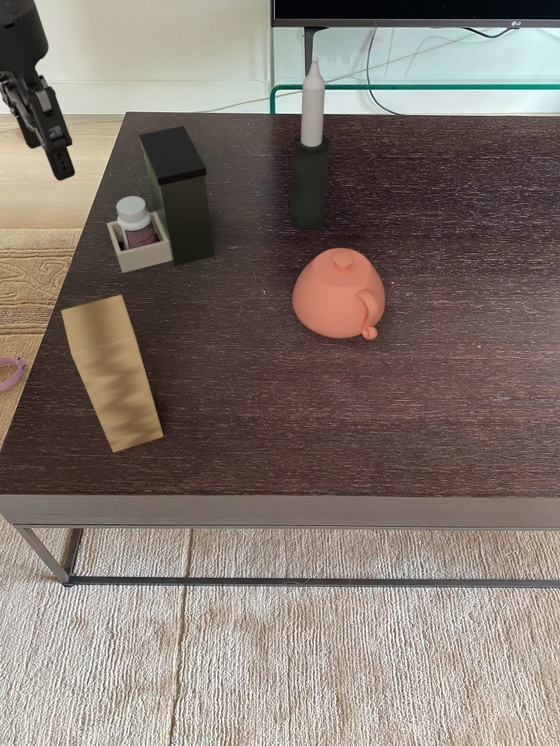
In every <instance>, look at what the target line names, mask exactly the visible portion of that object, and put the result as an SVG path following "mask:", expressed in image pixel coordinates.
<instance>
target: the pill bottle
mask: <svg viewBox="0 0 560 746" xmlns="http://www.w3.org/2000/svg"><path fill="white" fill-rule="evenodd" d="M115 209H116V212H117V219H116V221H117V224H118V227H119V231H120V234H121V238H122V245H123V249H124V251H125V250H129V249H133V248H137V247H141V246H145V245H149V244H153V243H157V238H156V233H155V234H154V229H153V224H152V219H151V215H150V213H151V212H150V211H149V210H148V208H147V204H146V201H145V199H143V197H140V196H136V195H129V196H126V197H123V198H121V199H120V200H118V201H117V203H116V208H115Z"/></svg>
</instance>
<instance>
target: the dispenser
mask: <svg viewBox="0 0 560 746" xmlns="http://www.w3.org/2000/svg"><path fill="white" fill-rule="evenodd" d="M138 141H139V144H140V147H141V149H142V153H143V158H144V163H145V168H146V169H145V170H146V173H147V179H148V183H149V188H150V194H151V199H152V204H153V209H154V212H156V213H157V215H158V218H159V220H160V222H161V225H162V227H163V229H164V232H165V234H166V237H167V239H168V241H169V246H170V251H171V257H172V263H173V266H174V267H177V266H180V265H181V266H182V265H185V264H189V263H192V262H196V261H201V260H205V259H208V258H212V257H214V256H215V254H214V253H215V252H214V243H213V236H212V225H211V218H210V209H209V199H208V190H207V179H206V176H207V175H208V173H207V167H206V165H205V163H204V161H203V159H202V158H201V157H202V156H201V155H200V154H199V152H198V150H197V148H196V146H195V144H194V142H193V140H192V139H191V136H190V135H189V133H188V131H187V129H186V127H185V125H179V126H175V127H171V128H165V129H160V130H156V131H150V132H147V133H141V134H138Z"/></svg>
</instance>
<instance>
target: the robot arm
mask: <svg viewBox="0 0 560 746" xmlns="http://www.w3.org/2000/svg"><path fill="white" fill-rule="evenodd" d="M49 45H50V44H49V41H48V38H47V35H46V32H45V29H44V25H43V23H42V19H41V16H40V14H39V11H38V8H37V5H36V0H0V94H1V97H2V102H3V103H4V104H5V105H6V106H7V107H8V108H9V112H10V114H11V115H12V116H13V117H14V118H15V119H16V122H17V124H18V127H19V129H20V132H21V135H22V137H23V139H24V142H25V144H26V146H27V147H28V148H29V149H32V150H33V149H37V148H40V147H41V148H42V149H43V151H44V153H45V156H46V158H47V162H48V164H49V166H50V169H51V172H52V175H53V176H54V178H55V179H56V180H57V181H58V182H61V181H64V180H68V179H69V178H72V177H74V176H75V175H76V170H75V167H74V163H73V161H72V158H71V155H70V152H69V150H68V147H70V146H73V139H72V137H71V135H70V131H69V129H68V126H67V123H66V121H65V117H64V115H63V112H62V110H61V107H60V104H59V100H58V98H57V93H56V91H55V89H54V88H53V87H52V85H49V83H48V82H47V80H46V78H45V76H44V75H43V74H39V73H38V71H37V69H36V66H37V64H38V63H39V62H40V60H43V59H44V58H45V57H46V56H47V54H48V52H49V49H50V46H49ZM51 129H54V131H55V133H56V134H53V135H50V134H49V130H51Z"/></svg>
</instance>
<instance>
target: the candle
mask: <svg viewBox="0 0 560 746" xmlns="http://www.w3.org/2000/svg"><path fill="white" fill-rule="evenodd" d="M318 62H319V57H318V56H317V55H313V56H312V57H311V64H310V67H309V70H308V74H307V76H305V77H304V80H303V81H302V89H301V91H302V93H301V119H300V120H301V121H300V133H299V134H297V135H296V136H295V137H294V138H293V142H292V149H291V187H290V188H291V191H290V193H291V194H290V197H291V198H290V225H291V227H293V228H296V229H305V230H320V229H322V228H323V227H324V224H325V213H326V199H327V188H328V187H327V186H328V174H329V173H328V172H329V158H330V146H331V145H330V144H331V141H330V138H329V137H328V136H326V135H325V134H323V131H324V130H323V129H324V112H325V97H326V96H325V95H326V82H325V80H324V78H323V77H322V76H323V75H321V70H320V67H319V64H318Z"/></svg>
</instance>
